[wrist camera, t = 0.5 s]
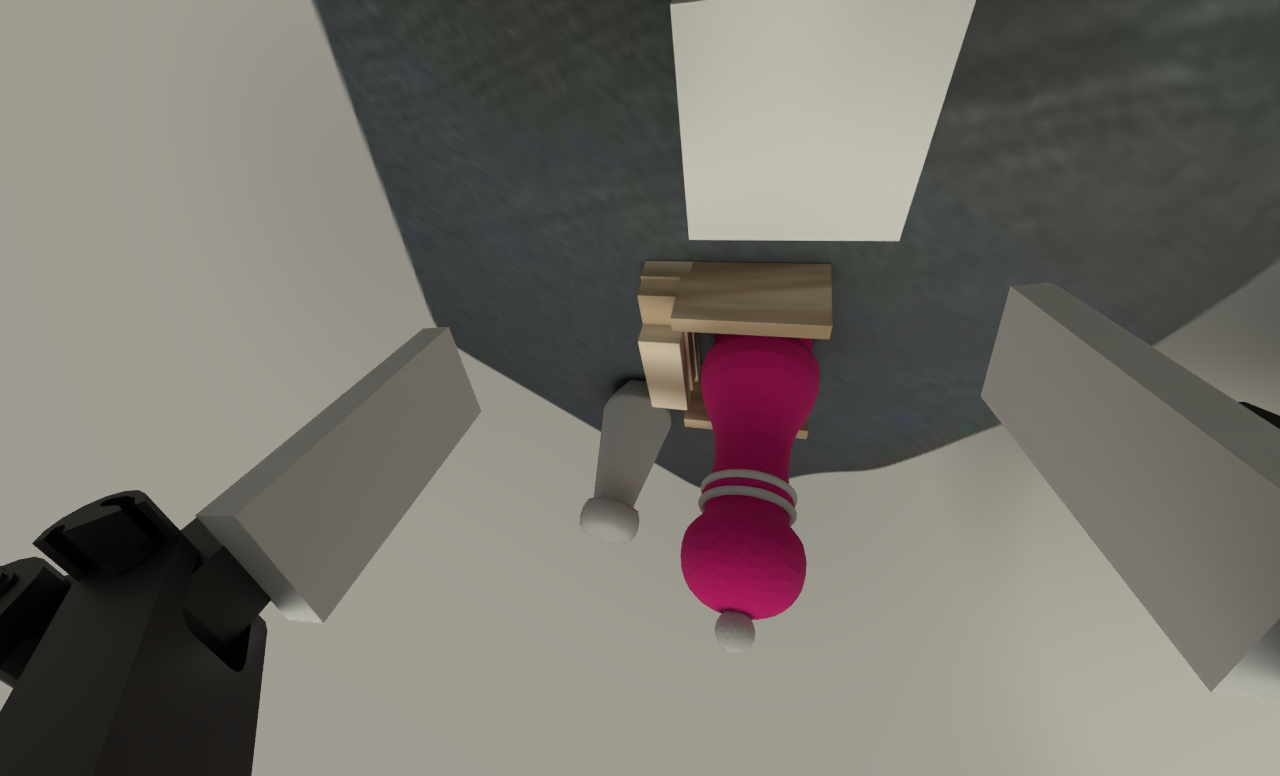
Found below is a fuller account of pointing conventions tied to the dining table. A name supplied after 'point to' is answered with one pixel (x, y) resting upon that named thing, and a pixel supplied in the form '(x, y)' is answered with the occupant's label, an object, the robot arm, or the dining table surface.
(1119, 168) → the dining table surface
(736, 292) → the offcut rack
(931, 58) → the mat
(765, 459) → the pepper mill
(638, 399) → the salt shaker
